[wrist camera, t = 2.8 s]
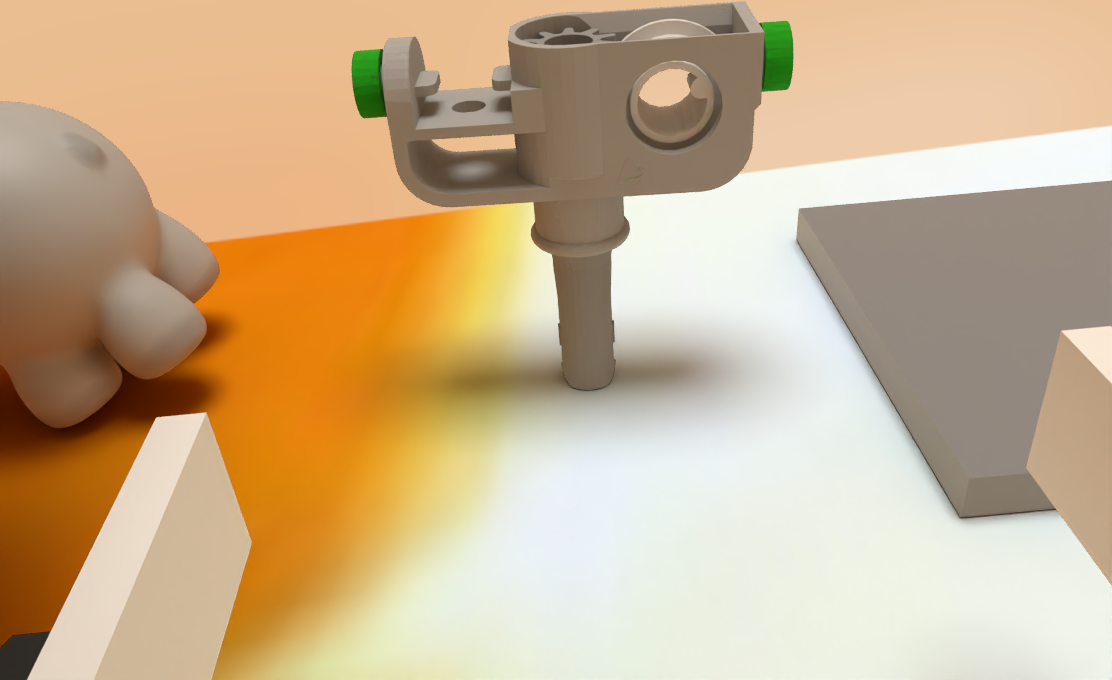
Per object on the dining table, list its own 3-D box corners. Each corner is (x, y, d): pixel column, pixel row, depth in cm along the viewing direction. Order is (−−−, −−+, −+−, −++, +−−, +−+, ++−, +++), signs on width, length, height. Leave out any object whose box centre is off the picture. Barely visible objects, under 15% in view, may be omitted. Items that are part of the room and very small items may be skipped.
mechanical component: (422, 354, 29) (363, 25, 23) (756, 336, 29) (776, -5, 23) (409, 414, 27) (340, 62, 21) (775, 394, 26) (802, 30, 21)
